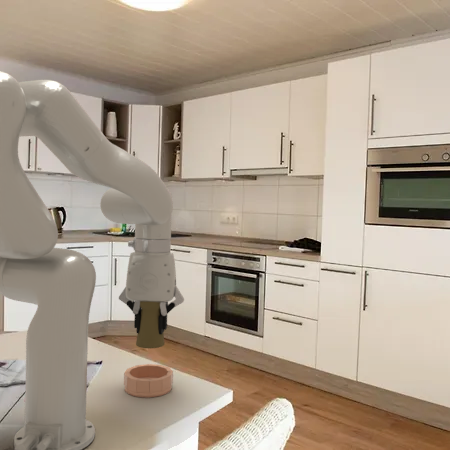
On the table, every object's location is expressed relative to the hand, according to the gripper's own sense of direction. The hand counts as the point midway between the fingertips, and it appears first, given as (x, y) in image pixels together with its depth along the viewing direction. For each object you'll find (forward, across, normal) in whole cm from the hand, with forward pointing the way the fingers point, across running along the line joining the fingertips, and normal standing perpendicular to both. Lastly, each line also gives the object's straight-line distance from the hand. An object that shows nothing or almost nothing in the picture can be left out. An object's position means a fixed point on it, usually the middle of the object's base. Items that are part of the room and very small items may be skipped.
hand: (150, 331), depth 101 cm
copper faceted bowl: (+12, 0, 0) cm, 12 cm away
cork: (+3, 0, 0) cm, 3 cm away
